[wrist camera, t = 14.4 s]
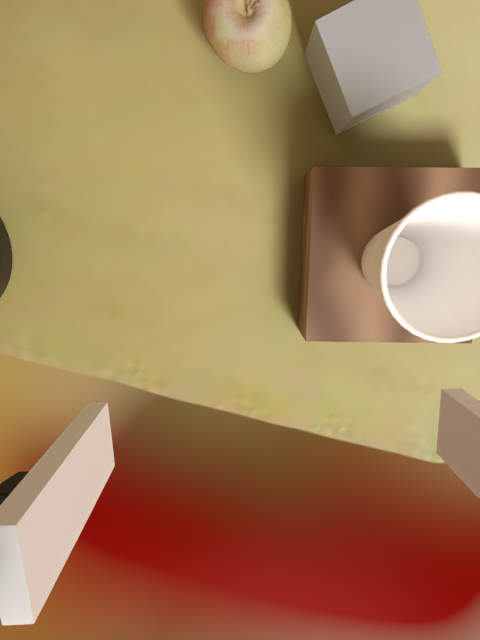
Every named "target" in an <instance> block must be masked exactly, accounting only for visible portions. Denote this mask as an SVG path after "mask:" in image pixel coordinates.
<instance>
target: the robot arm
mask: <svg viewBox="0 0 480 640" xmlns="http://www.w3.org/2000/svg"><path fill="white" fill-rule="evenodd" d="M11 269H12V250H11V244H10V240H9V237H8V234H7V231H6V229H5V226H4V224H3V222H2V220H1V219H0V297H1V296H2V294H3V293H4V291H5V289H6V287H7V284H8V282H9V279H10V275H11ZM436 453H437V454H438V455H439V456H440V457H441V458H442V459H443V460H444V461H445V462H446V463H447V464H448V466H449V467H450V468H451V469H452V470H453V471H454V472H455V473H456V474H457V475H458V476H459V477H460V478H461V480H462V481H463V482H464V483H465V484H466V485H467V486H468V487H469V488H470V489H471V490H472V491H473V492H474V493H475V495H476V496H477V497H478V498H479V499H480V401H478V400H477V399H476V398H474V397H473V396H471V395H470V394H468V393H467V392H465V391H464V390H462V389H461V388H460V389H441V401H440V414H439V426H438V439H437V451H436ZM114 466H115V463H114V455H113V446H112V437H111V428H110V420H109V411H108V403H107V402H104V403H88V404H87V405H86V406H85V407H84V408H83V409H82V411H81V412H80V413H79V414H78V415H77V417H76V418H75V419H74V420H73V421H72V422H71V423H70V425H69V426H68V427H67V428H66V429H65V430H64V432H63V433H62V434H61V435H60V436H59V438H58V439H57V440H56V441H55V442H54V443H53V445H52V446H51V447H50V448H49V449H48V450H47V451H46V453H45V454H44V455H43V456H42V457H41V458H40V460H39V461H38V462H37V463H36V464H35V465H34V467H33V468H32V469H31V470H30V471H29V472H18V473H16V474H15V475H13V476H12V477H10V478H9V479H7V480H5V481H4V482H2V483H1V485H0V617H1V622H2V625H21V624H34V623H35V621H36V619H37V617H38V615H39V613H40V611H41V609H42V607H43V605H44V603H45V601H46V599H47V597H48V596H49V594H50V591H51V589H52V588H53V586H54V584H55V582H56V580H57V578H58V576H59V574H60V572H61V570H62V568H63V566H64V564H65V562H66V560H67V558H68V556H69V554H70V552H71V550H72V548H73V546H74V545H75V543H76V541H77V538H78V537H79V535H80V533H81V531H82V529H83V527H84V525H85V523H86V521H87V519H88V517H89V515H90V513H91V511H92V509H93V507H94V505H95V503H96V501H97V499H98V498H99V495H100V494H101V492H102V490H103V488H104V486H105V484H106V482H107V480H108V478H109V476H110V474H111V472H112V470H113V468H114Z"/></svg>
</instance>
